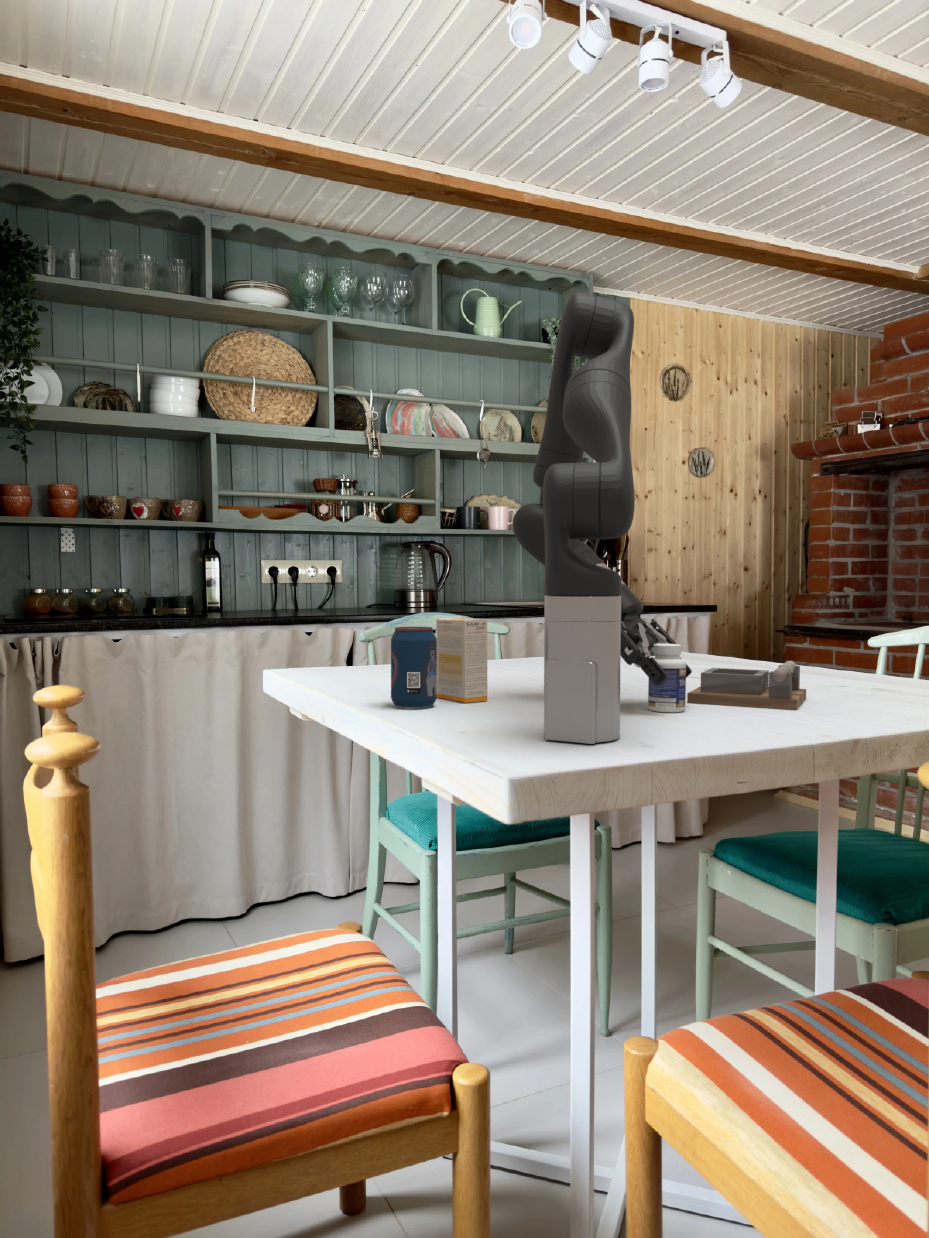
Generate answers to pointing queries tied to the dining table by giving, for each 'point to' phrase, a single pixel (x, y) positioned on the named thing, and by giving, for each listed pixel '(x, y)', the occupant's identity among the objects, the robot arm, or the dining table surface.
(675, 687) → the pill bottle
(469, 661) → the supplement box
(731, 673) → the block
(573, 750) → the dining table surface
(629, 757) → the dining table surface
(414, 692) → the soda can
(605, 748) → the dining table surface
